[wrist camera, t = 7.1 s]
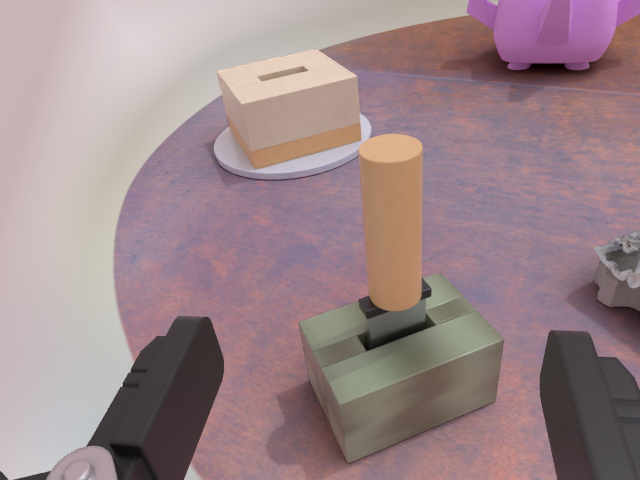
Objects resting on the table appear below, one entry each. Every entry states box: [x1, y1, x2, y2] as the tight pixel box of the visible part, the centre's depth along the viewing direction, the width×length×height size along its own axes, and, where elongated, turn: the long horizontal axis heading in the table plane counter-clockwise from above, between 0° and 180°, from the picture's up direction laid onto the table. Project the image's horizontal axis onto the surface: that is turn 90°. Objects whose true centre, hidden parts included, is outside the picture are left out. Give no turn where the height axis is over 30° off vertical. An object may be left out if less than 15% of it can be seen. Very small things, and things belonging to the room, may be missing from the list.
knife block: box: [299, 273, 504, 463], centre depth 29 cm, size 9×6×5 cm, turn 111°
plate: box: [214, 114, 372, 180], centre depth 59 cm, size 18×18×1 cm
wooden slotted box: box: [217, 49, 362, 169], centre depth 57 cm, size 12×12×7 cm
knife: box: [358, 134, 432, 351], centre depth 26 cm, size 4×3×16 cm
